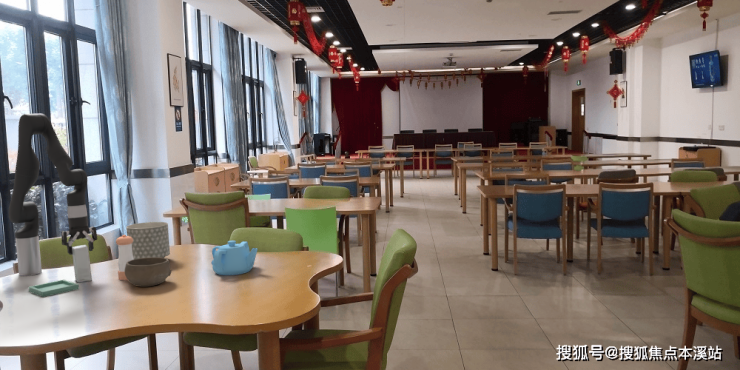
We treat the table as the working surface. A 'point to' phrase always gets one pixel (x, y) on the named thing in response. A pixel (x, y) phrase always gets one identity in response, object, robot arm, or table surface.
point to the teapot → (233, 258)
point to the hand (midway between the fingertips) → (81, 252)
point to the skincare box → (81, 263)
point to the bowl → (147, 271)
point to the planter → (149, 239)
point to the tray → (53, 288)
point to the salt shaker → (124, 254)
